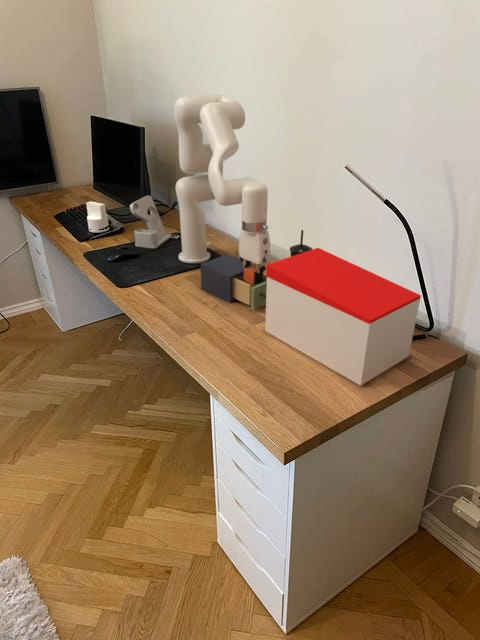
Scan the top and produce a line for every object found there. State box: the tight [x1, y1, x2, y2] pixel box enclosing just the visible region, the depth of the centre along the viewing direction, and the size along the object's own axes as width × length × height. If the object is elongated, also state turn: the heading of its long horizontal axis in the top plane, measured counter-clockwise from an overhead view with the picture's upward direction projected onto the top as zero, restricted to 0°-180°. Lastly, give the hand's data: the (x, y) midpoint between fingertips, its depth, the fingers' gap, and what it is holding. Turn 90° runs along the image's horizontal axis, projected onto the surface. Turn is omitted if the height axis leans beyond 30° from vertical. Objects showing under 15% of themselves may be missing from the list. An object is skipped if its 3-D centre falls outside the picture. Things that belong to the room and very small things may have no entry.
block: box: [244, 264, 257, 285], centre depth 156 cm, size 4×4×4 cm
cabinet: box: [200, 253, 256, 304], centre depth 165 cm, size 15×13×9 cm
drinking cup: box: [289, 229, 314, 257], centre depth 166 cm, size 8×8×20 cm
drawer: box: [232, 273, 267, 311], centre depth 157 cm, size 19×12×7 cm, turn 44°
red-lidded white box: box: [264, 247, 422, 387], centre depth 132 cm, size 21×35×21 cm, turn 40°
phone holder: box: [129, 194, 172, 249], centre depth 206 cm, size 17×10×18 cm, turn 162°
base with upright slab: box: [85, 201, 110, 234], centre depth 221 cm, size 9×9×12 cm
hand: (253, 280), depth 156 cm, fingers closed on block, 4 cm apart
